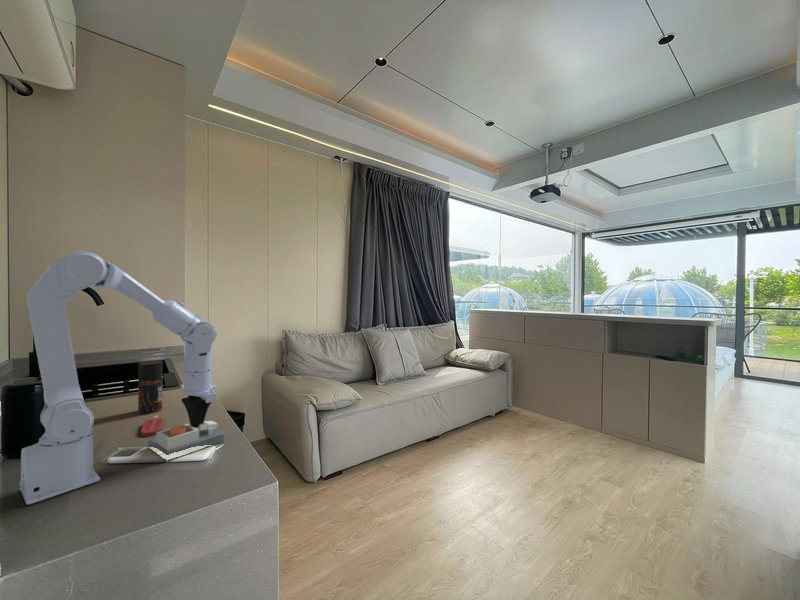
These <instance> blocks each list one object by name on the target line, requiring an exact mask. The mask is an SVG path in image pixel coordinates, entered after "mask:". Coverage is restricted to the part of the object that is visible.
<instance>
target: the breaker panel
mask: <svg viewBox="0 0 800 600" xmlns="http://www.w3.org/2000/svg"><path fill="white" fill-rule="evenodd" d="M183 425H186V433H183V434H180V435H177V436H173V437H170V428H166V429H164V430H161V431H159V432H157V435H156V437H152V438H149V439H148V440H147V441H148V447H154V448H157V449H159V450H160V451H162V452H163V453H165V454H166V455H169V454H171V453H174V452H179V451H182V450H185V449H188V448H191V447H196V446H204V445H213V446H216V445H219V444H223V443H224V433H223V432H220V431H218V430H217V429H213V428H209V429H208V430H198V429H197V428H195V427H193V426H191V424H189V423H184V424H183Z"/></svg>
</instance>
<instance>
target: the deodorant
mask: <svg viewBox="0 0 800 600" xmlns="http://www.w3.org/2000/svg"><path fill="white" fill-rule="evenodd" d="M137 365H138V366H137V367H138V371H137V372H138V373H137V374H138V380H137V381H138V385H137V388H138V391H137V392H138V407H137V408H138V409H137V410H138V412H139V413H141V414H140V415H148V414H149V413H150V414H155V413H158V412H161V411H162V410H163V361H162V360H148V361H142V362H139V363H138V364H137ZM160 410H161V411H160ZM138 412H137V413H138ZM154 412H155V413H154ZM139 413H138V414H139Z"/></svg>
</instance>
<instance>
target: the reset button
mask: <svg viewBox="0 0 800 600" xmlns="http://www.w3.org/2000/svg"><path fill="white" fill-rule="evenodd" d="M169 429H170V437H173V436H177V435H180V434H183V433H186V425H184V424H178V425H174V426H172V427H170V428H169Z"/></svg>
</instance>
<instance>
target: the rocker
mask: <svg viewBox="0 0 800 600" xmlns="http://www.w3.org/2000/svg"><path fill="white" fill-rule="evenodd" d="M218 425H219V424H218V423H217V422H215V421H213V420H204V423H203V424H199V427H196V428H197V429H198V430H208V429H209V428H213V429H215V430H217V429H218Z"/></svg>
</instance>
